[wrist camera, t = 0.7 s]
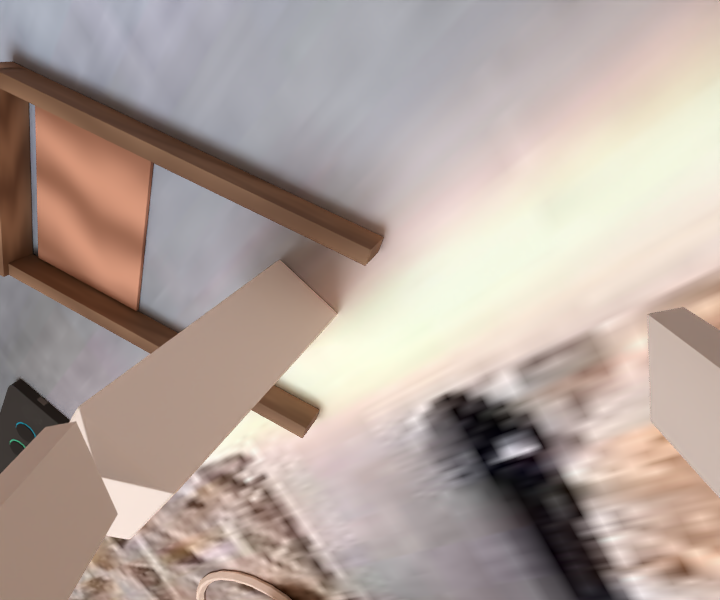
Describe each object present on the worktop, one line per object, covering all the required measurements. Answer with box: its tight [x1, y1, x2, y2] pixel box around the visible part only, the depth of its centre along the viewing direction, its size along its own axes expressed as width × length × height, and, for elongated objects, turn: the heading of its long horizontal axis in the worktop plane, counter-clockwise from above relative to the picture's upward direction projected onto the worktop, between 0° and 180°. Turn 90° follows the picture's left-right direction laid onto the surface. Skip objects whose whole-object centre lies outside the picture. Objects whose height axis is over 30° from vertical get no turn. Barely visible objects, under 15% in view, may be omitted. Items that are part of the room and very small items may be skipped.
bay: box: [0, 62, 384, 438], centre depth 43 cm, size 18×32×3 cm, turn 71°
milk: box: [69, 260, 337, 539], centre depth 33 cm, size 6×6×22 cm
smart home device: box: [0, 380, 70, 474], centre depth 66 cm, size 8×2×20 cm
